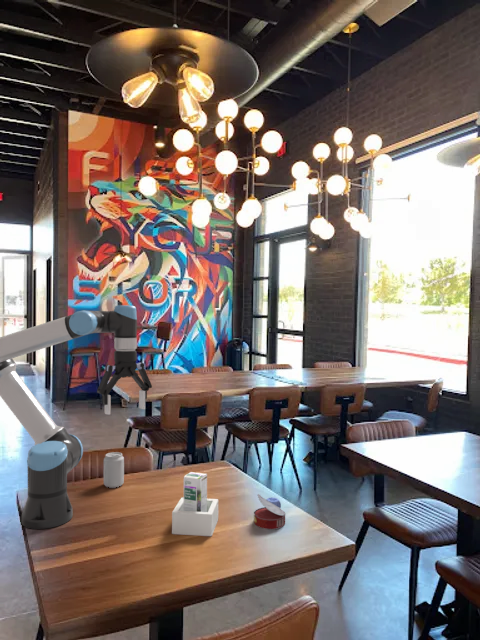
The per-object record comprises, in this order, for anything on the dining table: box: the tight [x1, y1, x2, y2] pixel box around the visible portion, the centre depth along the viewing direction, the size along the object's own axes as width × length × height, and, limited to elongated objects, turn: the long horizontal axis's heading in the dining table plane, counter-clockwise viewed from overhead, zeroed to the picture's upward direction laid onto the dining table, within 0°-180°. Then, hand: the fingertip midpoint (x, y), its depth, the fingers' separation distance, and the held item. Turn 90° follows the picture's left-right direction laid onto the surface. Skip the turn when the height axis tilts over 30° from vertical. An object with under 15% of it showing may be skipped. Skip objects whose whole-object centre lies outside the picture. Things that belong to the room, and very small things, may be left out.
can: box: [103, 451, 125, 489], centre depth 187 cm, size 8×8×12 cm
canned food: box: [253, 493, 286, 530], centre depth 155 cm, size 11×10×10 cm
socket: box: [171, 496, 219, 537], centre depth 151 cm, size 12×12×6 cm
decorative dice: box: [266, 496, 282, 509], centre depth 164 cm, size 4×4×4 cm
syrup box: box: [183, 471, 208, 512], centre depth 152 cm, size 6×6×14 cm
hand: (125, 411), depth 169 cm, fingers open, 13 cm apart
